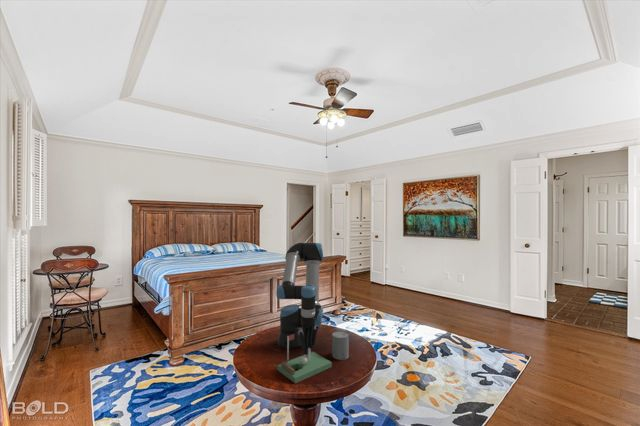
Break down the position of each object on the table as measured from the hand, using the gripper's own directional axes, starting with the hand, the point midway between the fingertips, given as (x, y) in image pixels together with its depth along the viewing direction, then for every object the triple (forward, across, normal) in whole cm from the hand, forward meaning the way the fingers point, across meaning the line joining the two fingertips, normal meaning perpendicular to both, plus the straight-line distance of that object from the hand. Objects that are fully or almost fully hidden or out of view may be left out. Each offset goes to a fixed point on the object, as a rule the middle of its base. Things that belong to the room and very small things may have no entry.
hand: (307, 359), depth 162 cm
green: (+4, -2, 0) cm, 4 cm away
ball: (0, -3, 0) cm, 3 cm away
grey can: (+4, +22, -2) cm, 23 cm away
